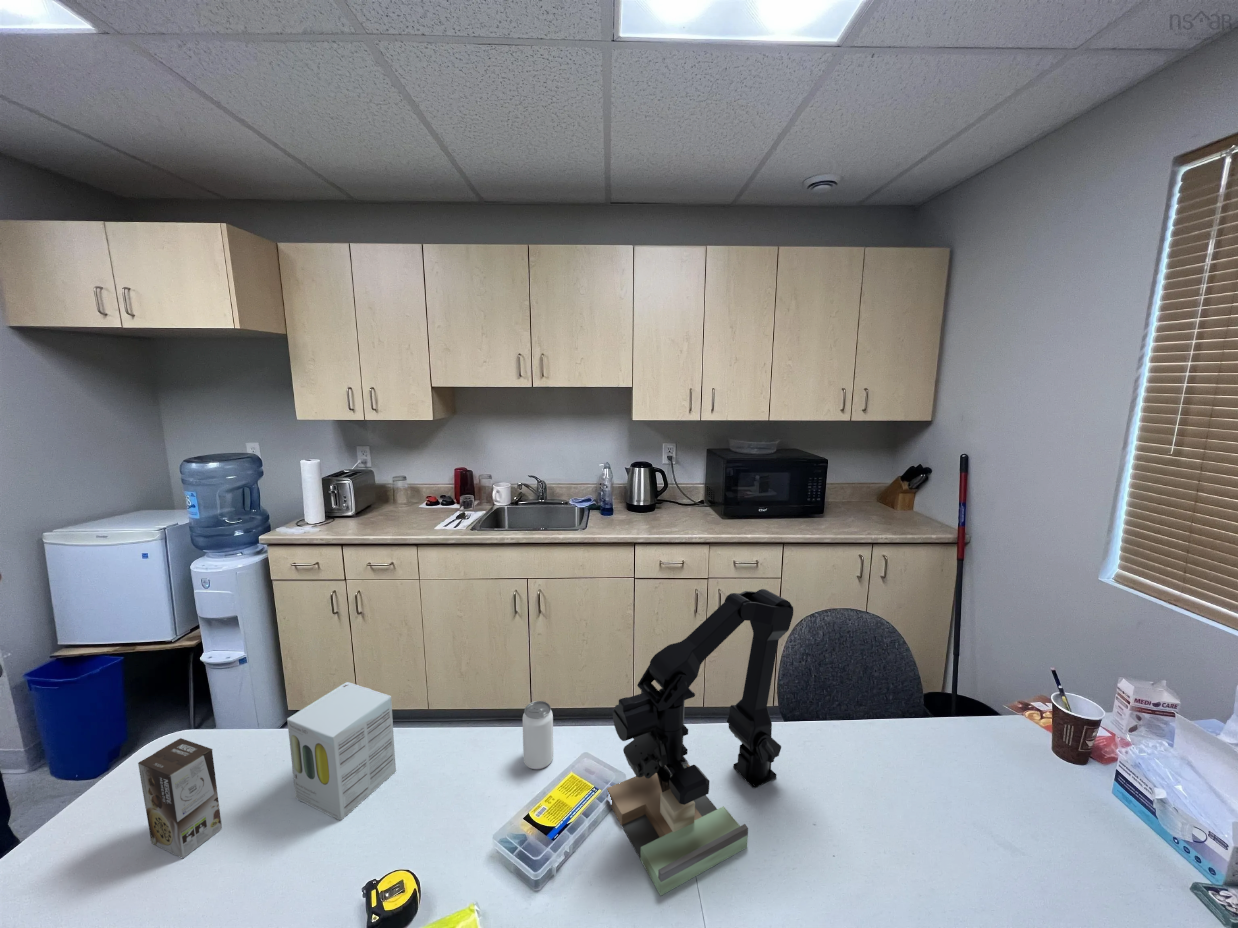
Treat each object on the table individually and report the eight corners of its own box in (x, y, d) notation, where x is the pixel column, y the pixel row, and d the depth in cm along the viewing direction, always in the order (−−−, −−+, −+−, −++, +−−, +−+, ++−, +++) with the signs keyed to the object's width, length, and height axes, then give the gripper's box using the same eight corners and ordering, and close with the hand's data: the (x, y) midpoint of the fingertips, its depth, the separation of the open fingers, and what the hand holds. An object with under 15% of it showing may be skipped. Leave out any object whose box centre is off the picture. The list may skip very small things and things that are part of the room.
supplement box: (292, 799, 91) (284, 718, 88) (353, 752, 103) (347, 679, 101) (340, 822, 86) (332, 737, 84) (397, 770, 98) (392, 694, 96)
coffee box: (224, 827, 85) (214, 748, 83) (181, 860, 79) (169, 775, 77) (192, 812, 88) (181, 735, 86) (148, 843, 82) (136, 761, 79)
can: (547, 772, 98) (546, 721, 96) (518, 767, 99) (517, 716, 97) (557, 750, 104) (556, 701, 102) (530, 745, 105) (529, 697, 103)
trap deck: (606, 799, 91) (606, 781, 91) (682, 767, 99) (682, 750, 99) (660, 895, 74) (661, 873, 73) (747, 847, 82) (748, 827, 81)
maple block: (680, 802, 88) (680, 784, 87) (694, 822, 84) (695, 802, 83) (660, 812, 86) (660, 792, 85) (673, 832, 82) (674, 812, 81)
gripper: (607, 703, 91) (607, 774, 93) (657, 772, 74) (655, 856, 76) (656, 688, 96) (654, 755, 98) (713, 749, 79) (709, 829, 81)
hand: (666, 794), depth 88 cm, fingers closed
